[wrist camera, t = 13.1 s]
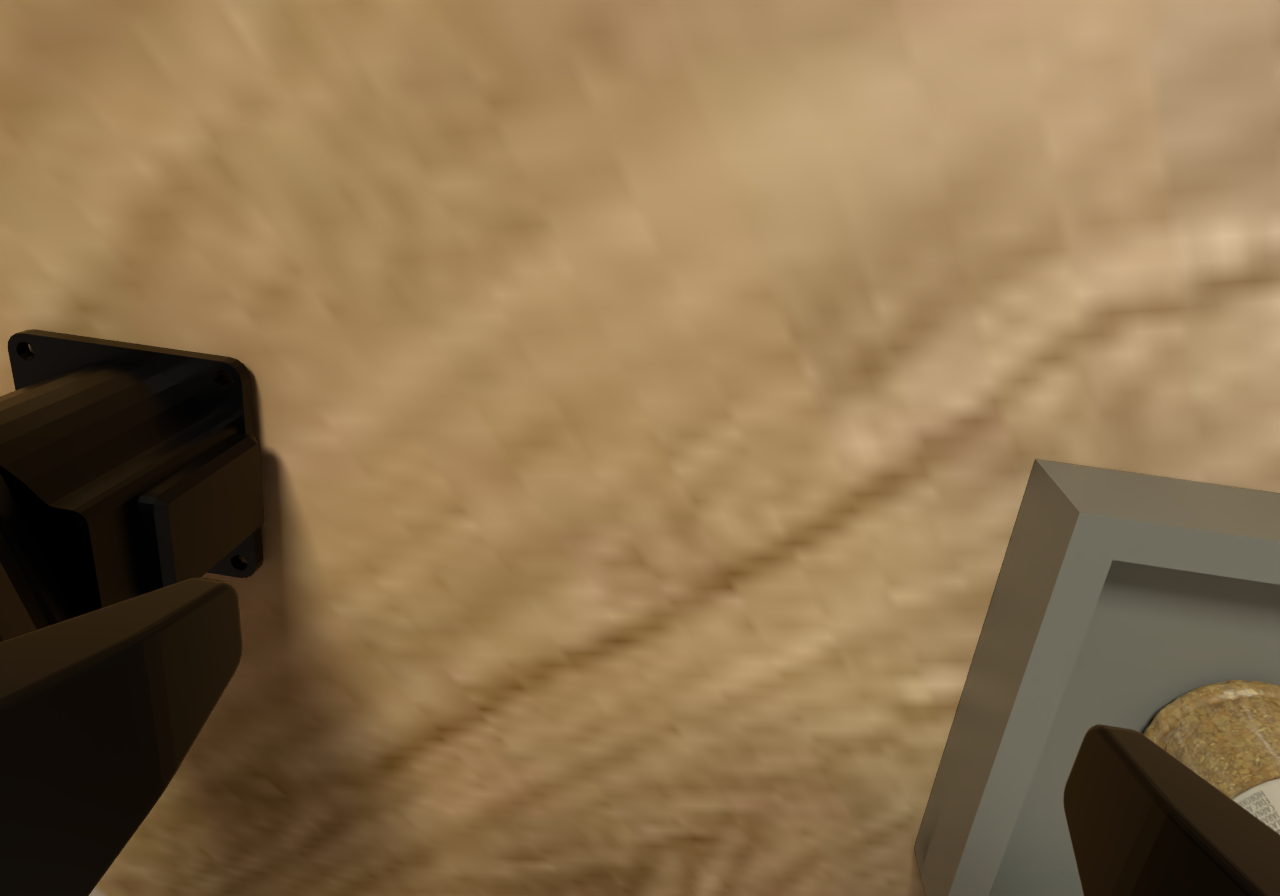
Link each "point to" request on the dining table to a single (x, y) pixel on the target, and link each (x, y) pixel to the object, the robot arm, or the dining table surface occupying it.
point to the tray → (1092, 656)
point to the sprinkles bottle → (1228, 741)
